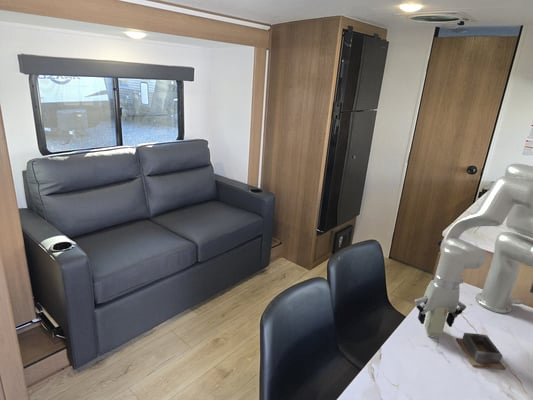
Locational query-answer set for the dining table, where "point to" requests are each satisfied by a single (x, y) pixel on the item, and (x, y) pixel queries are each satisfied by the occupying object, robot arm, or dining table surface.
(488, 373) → the dining table surface
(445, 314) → the skincare box
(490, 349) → the sleeve stand
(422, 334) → the dining table surface
